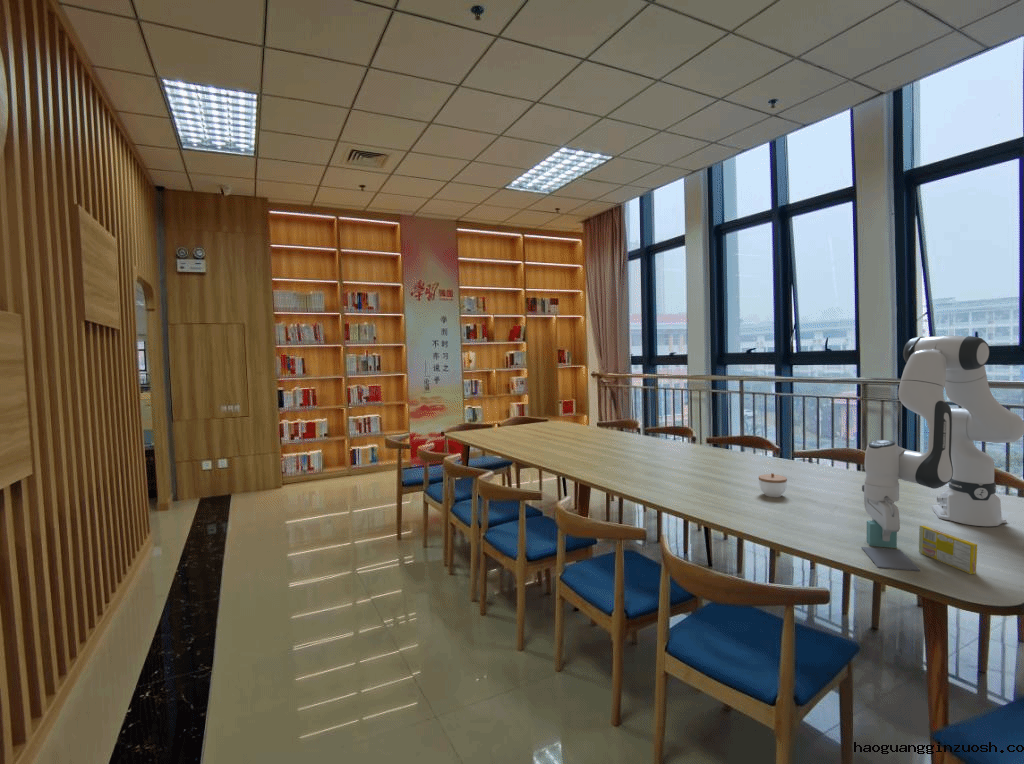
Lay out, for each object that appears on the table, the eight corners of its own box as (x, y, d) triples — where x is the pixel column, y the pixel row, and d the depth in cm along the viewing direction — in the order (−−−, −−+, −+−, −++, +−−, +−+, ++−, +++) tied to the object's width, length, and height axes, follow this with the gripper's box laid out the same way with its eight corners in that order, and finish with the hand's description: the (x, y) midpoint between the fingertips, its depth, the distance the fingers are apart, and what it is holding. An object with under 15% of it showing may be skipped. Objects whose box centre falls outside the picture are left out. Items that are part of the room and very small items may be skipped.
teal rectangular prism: (866, 541, 166) (866, 520, 166) (892, 543, 164) (892, 521, 163) (870, 545, 163) (870, 523, 162) (896, 547, 160) (896, 525, 160)
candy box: (977, 574, 141) (978, 544, 140) (970, 575, 141) (971, 544, 140) (924, 551, 157) (924, 524, 157) (917, 552, 157) (917, 525, 156)
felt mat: (861, 548, 161) (861, 546, 161) (900, 551, 158) (900, 549, 158) (877, 567, 147) (877, 566, 147) (920, 571, 144) (920, 569, 144)
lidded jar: (780, 491, 225) (780, 470, 224) (791, 498, 214) (791, 476, 214) (754, 492, 226) (754, 470, 225) (764, 499, 215) (764, 476, 215)
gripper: (906, 502, 151) (906, 549, 152) (882, 485, 171) (882, 526, 171) (881, 501, 153) (880, 547, 154) (860, 484, 173) (860, 525, 174)
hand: (881, 536), depth 163 cm, fingers open, 6 cm apart
